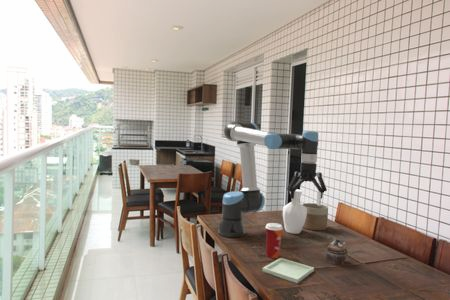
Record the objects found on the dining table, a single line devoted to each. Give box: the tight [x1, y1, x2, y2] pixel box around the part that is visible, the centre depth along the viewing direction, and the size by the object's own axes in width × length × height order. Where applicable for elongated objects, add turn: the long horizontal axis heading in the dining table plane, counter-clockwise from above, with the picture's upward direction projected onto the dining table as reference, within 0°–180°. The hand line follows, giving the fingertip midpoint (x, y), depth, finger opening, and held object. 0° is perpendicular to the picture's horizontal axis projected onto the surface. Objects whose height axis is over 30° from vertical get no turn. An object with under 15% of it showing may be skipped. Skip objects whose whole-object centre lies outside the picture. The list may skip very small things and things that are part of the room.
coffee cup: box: [264, 222, 284, 259], centre depth 161 cm, size 8×8×15 cm
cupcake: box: [325, 238, 348, 266], centre depth 158 cm, size 10×10×10 cm
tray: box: [262, 257, 315, 284], centre depth 144 cm, size 16×16×2 cm
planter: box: [301, 202, 329, 232], centre depth 214 cm, size 16×16×14 cm
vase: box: [282, 188, 307, 235], centre depth 202 cm, size 14×14×25 cm
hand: (306, 205), depth 168 cm, fingers open, 13 cm apart
